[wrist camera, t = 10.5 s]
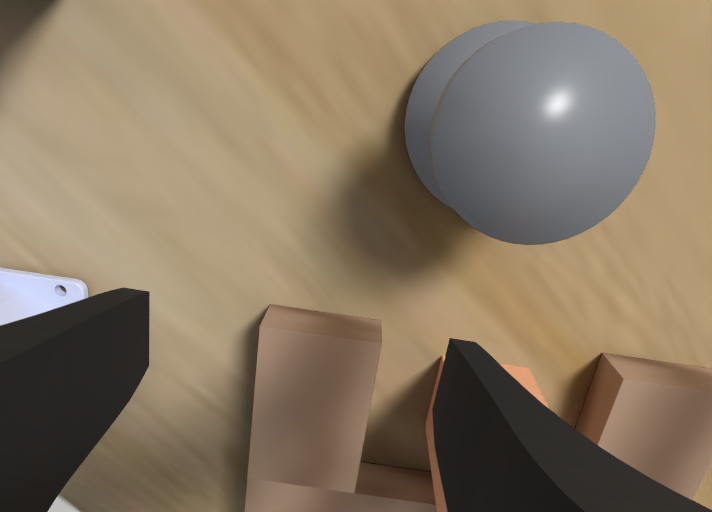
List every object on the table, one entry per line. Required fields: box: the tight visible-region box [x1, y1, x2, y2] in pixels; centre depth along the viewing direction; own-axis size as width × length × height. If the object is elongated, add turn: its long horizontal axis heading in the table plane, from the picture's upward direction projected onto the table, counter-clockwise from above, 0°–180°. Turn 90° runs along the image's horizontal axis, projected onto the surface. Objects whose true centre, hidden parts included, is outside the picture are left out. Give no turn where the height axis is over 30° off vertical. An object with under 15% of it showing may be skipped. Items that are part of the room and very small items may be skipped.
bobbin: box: [404, 21, 656, 245], centre depth 16 cm, size 7×7×6 cm
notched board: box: [245, 305, 712, 512], centre depth 23 cm, size 20×12×2 cm, turn 82°
